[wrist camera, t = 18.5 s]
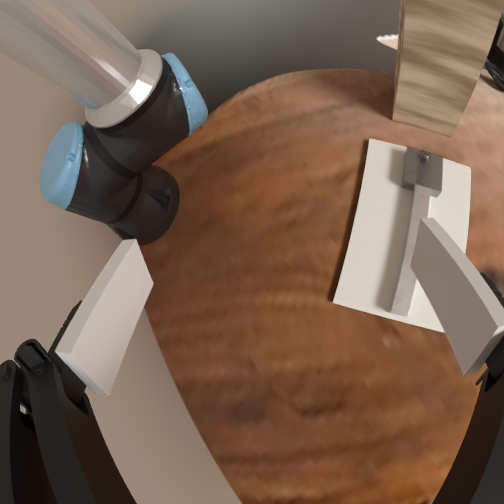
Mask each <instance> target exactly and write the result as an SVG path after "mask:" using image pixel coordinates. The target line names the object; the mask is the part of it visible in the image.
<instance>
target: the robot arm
mask: <svg viewBox="0 0 504 504" xmlns="http://www.w3.org/2000/svg"><path fill="white" fill-rule="evenodd" d="M0 53H1V54H3V55H5V56H6V57H8V58H10V59H12V60H13V61H15V62H17V63H18V64H20V65H22V66H23V67H25V68H26V69H28V70H30V71H31V72H33V73H35V74H36V75H38V76H40V77H41V78H42V79H44V80H46V81H47V82H49V83H50V84H52V85H54V86H55V87H57V88H58V89H60V90H61V91H63V92H65V93H66V94H68V95H69V96H71V97H72V98H74V99H76V100H77V101H79V102H80V103H82V104H83V105H85V116H86V119H87V121H86V122H85V123H84V124H83V125H81V124H80V123H79V122H73V121H72V122H69V123H67V124H65V125H64V126H63V127H62V128H61V129H60V130H59V131H58V132H57V134H56V135H55V137H54V138H53V140H52V142H51V144H50V146H49V148H48V150H47V152H46V155H45V158H44V161H43V164H42V168H41V174H40V189H41V193H42V195H43V197H44V198H45V199H46V200H47V201H48V202H50V203H52V204H54V205H56V206H59V207H60V208H61V209H63V210H67V211H70V212H73V213H76V214H79V215H82V216H85V217H88V218H91V219H93V220H96V221H100V222H103V223H105V224H107V225H108V226H109V227H110V228H111V229H112V230H113V231H114V232H115V233H116V234H117V235H118V236H119V237H120V238H122V239H123V241H122V242H121V243H120V245H119V246H118V248H117V249H116V251H115V252H114V254H113V255H112V257H111V258H110V259H109V261H108V262H107V264H106V265H105V267H104V268H103V270H102V272H101V273H100V274H99V276H98V278H97V279H96V281H95V282H94V284H93V285H92V287H91V288H90V290H89V292H88V293H87V295H86V297H85V298H84V300H83V301H80V302H79V303H78V304H77V305H76V306H75V307H74V308H73V309H72V311H71V312H70V314H69V315H68V317H67V320H66V321H65V322H64V324H63V327H62V328H61V329H60V331H59V333H58V335H57V337H56V338H55V340H54V342H53V344H52V346H51V348H50V350H49V351H48V353H47V352H46V350H45V349H44V348H43V347H42V346H41V344H40V343H39V342H38V341H37V340H35V339H29V340H27V341H25V342H23V343H22V344H21V345H20V346H19V348H18V349H17V351H16V353H15V357H14V360H15V361H16V362H17V363H18V365H19V366H20V367H18V365H17V364H16V363H15V362H14V361H12V360H7V361H5V362H3V363H2V364H1V365H0V504H137V503H136V502H135V500H134V498H133V497H132V495H131V493H130V491H129V489H128V488H127V486H126V484H125V482H124V480H123V478H122V476H121V475H120V473H119V471H118V469H117V467H116V465H115V463H114V460H113V458H112V456H111V454H110V452H109V450H108V447H107V445H106V443H105V441H104V438H103V436H102V433H101V431H100V429H99V426H98V423H97V421H96V418H95V416H94V413H93V410H92V408H91V404H90V402H89V399H88V396H87V395H86V393H85V392H84V390H85V388H86V386H87V387H88V388H89V389H90V390H91V391H92V392H93V393H94V394H98V395H102V396H107V397H109V396H110V393H111V390H112V387H113V385H114V381H115V379H116V376H117V373H118V370H119V368H120V365H121V362H122V360H123V357H124V354H125V352H126V349H127V346H128V344H129V341H130V339H131V336H132V334H133V331H134V329H135V326H136V324H137V322H138V319H139V317H140V314H141V312H142V310H143V307H144V305H145V302H146V300H147V298H148V296H149V293H150V291H151V289H152V286H153V281H152V279H151V276H150V274H149V271H148V269H147V266H146V264H145V261H144V259H143V256H142V253H141V251H140V248H139V245H144V244H148V243H151V242H153V241H155V240H157V239H158V238H159V237H161V236H162V235H163V234H164V233H165V232H166V230H167V229H168V228H169V227H170V225H171V223H172V222H173V220H174V218H175V215H176V213H177V209H178V205H179V188H178V185H177V182H176V180H175V179H174V177H173V176H172V175H171V174H170V173H168V172H167V171H165V170H164V169H162V168H160V167H158V166H154V165H151V164H152V163H153V162H155V161H156V160H157V159H158V158H160V157H161V156H162V155H164V154H165V153H166V152H168V151H169V150H170V149H172V148H173V147H174V146H176V145H177V144H178V143H180V142H181V141H182V140H184V139H185V138H187V137H189V136H190V135H191V134H192V132H193V131H194V130H196V129H197V128H198V127H199V126H201V125H202V124H203V123H204V122H205V121H206V119H207V116H208V111H207V107H206V105H205V102H204V100H203V98H202V96H201V94H200V92H199V91H198V89H197V87H196V86H195V84H194V83H193V82H192V79H191V78H190V76H189V74H188V72H187V71H186V69H185V68H184V66H183V65H182V64H181V62H180V61H179V60H178V59H177V58H176V56H175V55H174V54H172V53H167V54H165V55H162V56H160V55H159V54H158V53H157V52H155V51H153V50H149V49H142V50H136V49H135V48H134V46H133V45H132V44H131V43H129V41H128V40H127V39H126V38H125V37H124V36H122V34H121V33H120V32H119V31H118V30H117V29H116V28H115V27H114V26H113V25H112V24H111V23H110V22H109V21H108V20H107V19H106V18H105V17H104V16H102V14H101V13H100V12H99V11H98V10H96V9H95V8H94V7H93V6H92V5H91V4H90V3H89V2H88V1H87V0H0ZM410 267H411V269H412V271H413V273H414V274H415V276H416V278H417V280H418V281H419V283H420V285H421V287H422V289H423V290H424V292H425V294H426V296H427V298H428V300H429V302H430V303H431V305H432V307H433V309H434V311H435V313H436V315H437V317H438V319H439V321H440V323H441V325H442V327H443V330H444V332H445V334H446V336H447V338H448V340H449V343H450V345H451V347H452V349H453V352H454V354H455V356H456V359H457V361H458V363H459V366H460V368H461V371H462V373H463V376H466V375H469V374H472V373H474V372H477V371H478V370H479V369H480V368H481V367H482V365H483V364H484V363H485V362H486V364H487V367H488V368H487V369H486V371H485V372H484V373H483V374H482V375H481V377H480V378H479V379H478V380H477V382H476V384H475V385H478V384H479V383H480V382H481V381H482V380H483V381H482V384H481V386H480V387H481V388H480V392H479V395H478V399H477V402H476V406H475V409H474V412H473V415H472V418H471V421H470V424H469V426H468V429H467V432H466V435H465V437H464V440H463V442H462V445H461V447H460V449H459V452H458V454H457V456H456V459H455V461H454V463H453V465H452V467H451V469H450V471H449V473H448V475H447V477H446V479H445V481H444V483H443V485H442V487H441V489H440V491H439V493H438V494H437V496H436V498H435V500H434V501H433V503H432V504H504V298H502V295H501V293H500V292H499V291H498V290H497V288H496V286H495V285H494V283H493V282H492V281H491V280H490V279H489V278H488V277H487V276H486V275H484V274H483V273H479V272H478V271H477V269H476V268H475V267H474V265H473V264H472V263H471V261H470V260H469V259H468V258H467V256H466V255H465V254H464V253H463V251H462V250H461V249H460V248H459V246H458V245H457V244H456V243H455V242H454V240H453V239H452V238H451V237H450V236H449V235H448V233H447V232H446V231H445V230H444V229H443V228H442V227H441V225H440V224H439V223H438V222H437V221H436V220H435V219H434V218H420V223H419V228H418V233H417V238H416V243H415V247H414V252H413V256H412V260H411V264H410ZM20 404H21V405H22V406H23V407H25V408H26V413H25V414H24V413H22V412H21V411H20Z"/></svg>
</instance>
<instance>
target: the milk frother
mask: <svg viewBox="0 0 504 504" xmlns="http://www.w3.org/2000/svg"><path fill="white" fill-rule="evenodd" d="M487 58H488V60H489V62H485V66H486V69H487V70H488V72H489V74H490V75H491V76H492V78H493V79H494V80H495V82H496V83H497V84H498V85H499V86H500V87H501V89H503V90H504V76H503V75H504V12H502V13H501V18H500V20H499V23H498V26H497V30H496V33H495V36H494V39H493V42H492V45H491V48H490V50H489V53H488V56H487ZM491 68H492V69H493V70H495V71H496V72H497V73H498V74H499V75H500V76H498V75H496V74H494V73H493V71H492V69H491ZM502 74H503V75H502Z"/></svg>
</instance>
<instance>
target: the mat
mask: <svg viewBox="0 0 504 504" xmlns="http://www.w3.org/2000/svg"><path fill="white" fill-rule="evenodd" d="M406 148H407V147H403V146H399V145H395V144H391V143H387V142H383V141H379V140H374V139H369V146H368V152H367V158H366V164H365V170H364V175H363V181H362V186H361V191H360V196H359V201H358V206H357V211H356V215H355V220H354V224H353V228H352V233H351V237H350V241H349V245H348V249H347V253H346V257H345V261H344V265H343V269H342V272H341V276H340V279H339V283H338V287H337V290H336V294H335V297H334V300H333V303H335V304H339V305H342V306H346V307H350V308H353V309H357V310H360V311H364V312H368V313H371V314H375V315H379V316H382V317H386V318H390V319H394V320H397V321H401V322H405V323H409V324H413V325H416V326H420V327H424V328H428V329H432V330H436V331H440V332H444V330H443V327H442V325H441V323H440V321H439V319H438V317H437V315H436V313H435V311H434V309H433V307H432V305H431V303H430V302H429V300H428V298H427V296H426V294H425V292H424V290H423V289H422V287H421V285H420V283H419V281H418V280H416V284H415V289H414V293H413V297H412V301H411V305H410V308H409V312H408V316H407V317H404V316H400V315H396V314H392V313H388V309H389V306H390V302H391V298H392V294H393V290H394V286H395V282H396V278H397V274H398V270H399V265H400V260H401V256H402V251H403V246H404V240H405V235H406V229H407V223H408V216H409V210H410V202H411V195H412V190H408V189H405V188H401V183H402V175H403V165H404V155H405V151H406ZM470 189H471V168H470V167H467V166H464V165H461V164H459V163H456V162H453V161H450V160H447V159H444V158H443V176H442V192H441V193H440V195H439V196H438V197H437V198H436V197H433V196H430V200H429V209H428V217H427V218H434V219H435V220H436V221H437V222H438V223H439V224H440V225H441V227H442V228H443V229H444V230H445V231H446V232H447V233H448V235H449V236H450V237H451V238H452V239H453V240H454V242H455V243H456V244H457V245H458V246H459V248H460V249H461V250H462V251H463V253H464V254H465V251H466V243H467V234H468V224H469V211H470ZM444 333H445V332H444Z"/></svg>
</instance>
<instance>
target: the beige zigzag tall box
mask: <svg viewBox="0 0 504 504" xmlns="http://www.w3.org/2000/svg"><path fill="white" fill-rule="evenodd" d="M503 5H504V0H400V16H399V17H400V18H399V36H398V49H397V61H396V70H395V78H394V102H393V116H392V121H396V122H400V123H404V124H408V125H411V126H415V127H419V128H422V129H426V130H429V131H432V132H436V133H439V134H442V135H445V136H448V137H451V136H452V134H453V132H454V130H455V128H456V126H457V124H458V122H459V120H460V118H461V116H462V114H463V112H464V110H465V108H466V106H467V103H468V101H469V99H470V97H471V95H472V92H473V90H474V88H475V86H476V83H477V81H478V79H479V76H480V74H481V71H482V69H483V66H484V64H485V61H486V58H487V56H488V53H489V50H490V48H491V45H492V42H493V39H494V36H495V33H496V30H497V26H498V23H499V20H500V16H501V13H502V9H503Z"/></svg>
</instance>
